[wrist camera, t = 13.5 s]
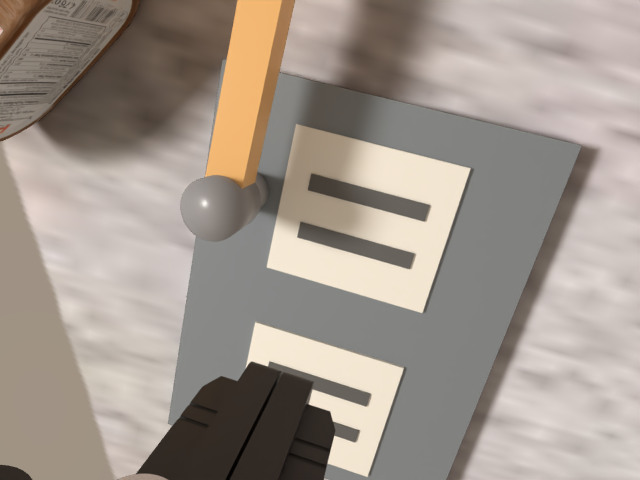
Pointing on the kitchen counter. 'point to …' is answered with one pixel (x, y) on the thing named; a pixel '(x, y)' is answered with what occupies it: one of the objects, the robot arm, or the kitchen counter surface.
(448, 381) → the label board
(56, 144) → the kitchen counter surface
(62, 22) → the tin
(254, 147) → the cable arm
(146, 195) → the kitchen counter surface
